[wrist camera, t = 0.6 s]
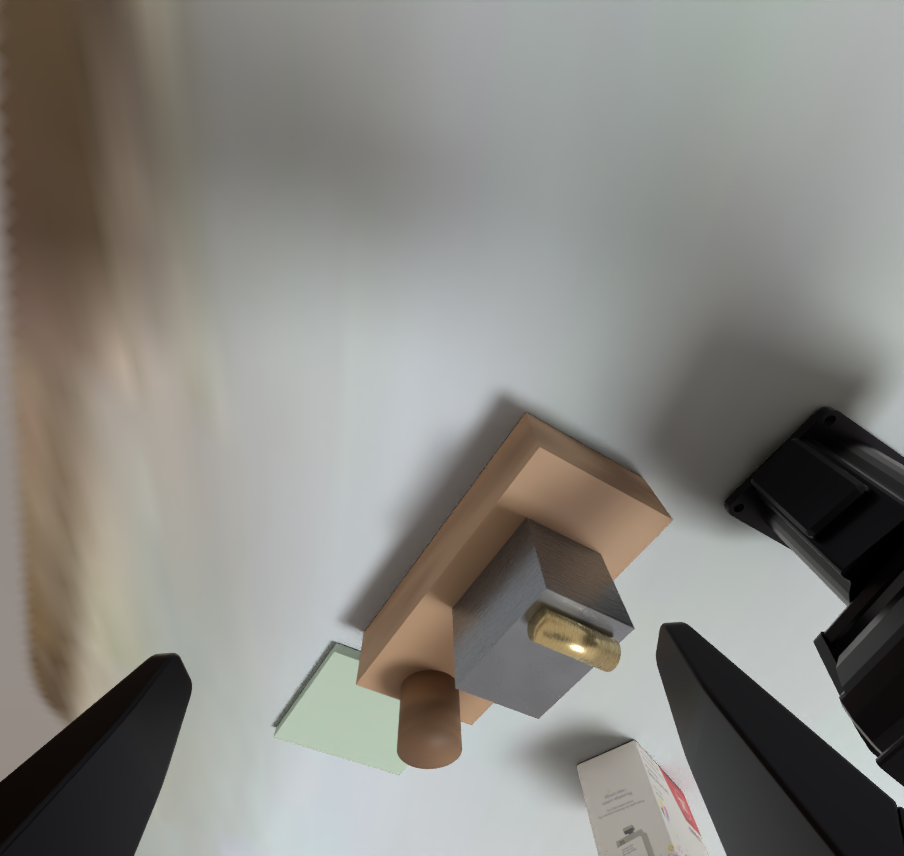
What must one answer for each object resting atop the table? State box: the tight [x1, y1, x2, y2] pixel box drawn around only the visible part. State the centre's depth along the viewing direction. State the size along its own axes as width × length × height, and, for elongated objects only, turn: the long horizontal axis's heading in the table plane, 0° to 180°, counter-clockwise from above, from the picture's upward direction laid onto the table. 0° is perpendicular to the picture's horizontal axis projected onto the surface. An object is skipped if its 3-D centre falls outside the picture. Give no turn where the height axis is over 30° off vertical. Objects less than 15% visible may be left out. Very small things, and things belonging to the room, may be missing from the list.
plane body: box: [356, 413, 673, 769], centre depth 23 cm, size 7×16×6 cm, turn 149°
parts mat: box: [274, 643, 408, 775], centre depth 30 cm, size 9×9×1 cm
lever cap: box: [452, 517, 634, 719], centre depth 20 cm, size 4×6×5 cm, turn 149°
